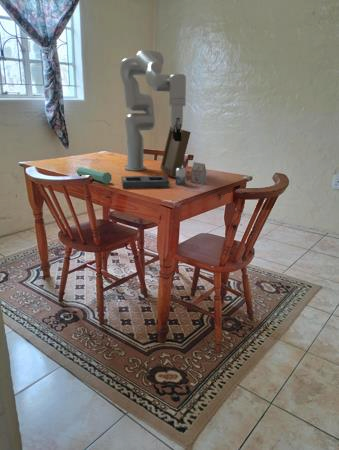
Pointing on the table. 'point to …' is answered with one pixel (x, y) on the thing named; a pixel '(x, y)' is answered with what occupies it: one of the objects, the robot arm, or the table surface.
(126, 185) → the block
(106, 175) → the container
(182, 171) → the bushing
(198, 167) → the grey upright block
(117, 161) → the table surface
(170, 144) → the photo frame
